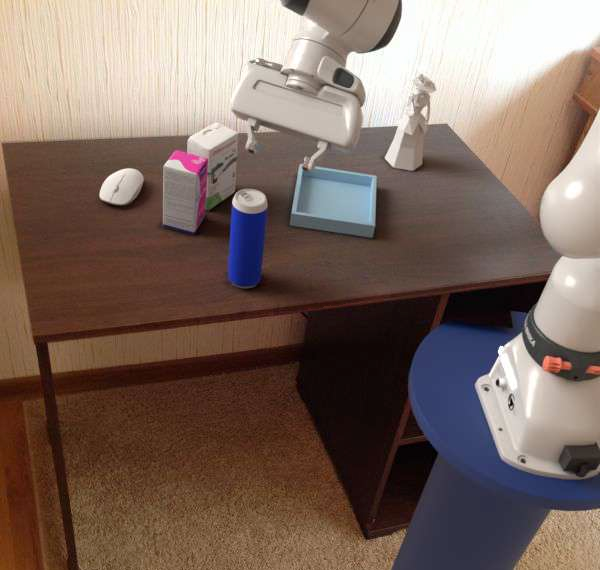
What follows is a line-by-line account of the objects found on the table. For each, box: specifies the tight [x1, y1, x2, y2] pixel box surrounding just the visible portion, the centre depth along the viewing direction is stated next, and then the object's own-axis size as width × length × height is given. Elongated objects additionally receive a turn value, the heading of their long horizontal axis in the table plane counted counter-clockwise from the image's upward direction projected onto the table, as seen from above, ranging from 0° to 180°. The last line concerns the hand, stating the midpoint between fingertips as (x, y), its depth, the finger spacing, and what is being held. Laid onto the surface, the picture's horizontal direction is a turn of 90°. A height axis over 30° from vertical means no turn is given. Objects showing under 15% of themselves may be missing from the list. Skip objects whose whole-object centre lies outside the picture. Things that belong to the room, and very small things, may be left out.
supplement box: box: [162, 149, 208, 235], centre depth 124 cm, size 6×6×12 cm
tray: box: [289, 163, 378, 239], centre depth 136 cm, size 17×15×2 cm
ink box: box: [186, 122, 239, 212], centre depth 130 cm, size 9×5×12 cm, turn 149°
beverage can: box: [227, 188, 269, 289], centre depth 114 cm, size 5×5×15 cm
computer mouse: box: [99, 167, 145, 207], centre depth 130 cm, size 6×10×3 cm, turn 164°
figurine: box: [384, 72, 437, 172], centre depth 144 cm, size 7×8×18 cm
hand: (278, 161), depth 114 cm, fingers open, 8 cm apart
